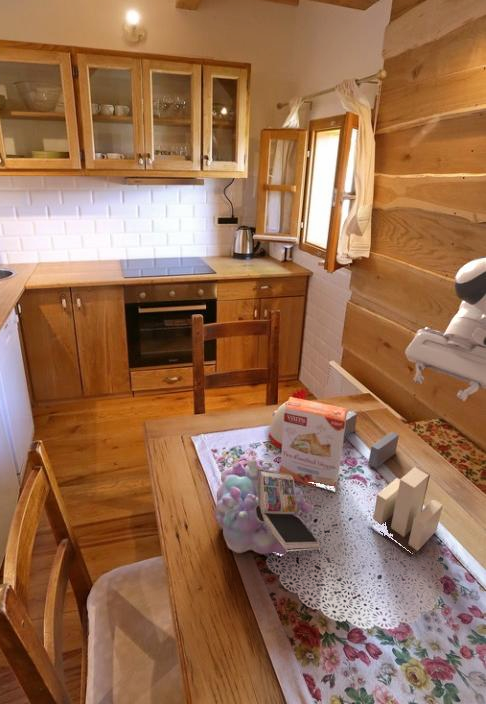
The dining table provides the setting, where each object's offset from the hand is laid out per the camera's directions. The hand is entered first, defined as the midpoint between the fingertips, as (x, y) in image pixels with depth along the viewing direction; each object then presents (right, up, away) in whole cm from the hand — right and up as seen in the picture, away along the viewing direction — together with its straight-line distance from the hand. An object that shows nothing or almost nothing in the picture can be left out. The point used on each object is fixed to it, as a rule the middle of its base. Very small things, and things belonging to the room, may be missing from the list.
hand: (437, 390), depth 90 cm
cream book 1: (-11, -27, 0) cm, 30 cm away
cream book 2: (-6, -30, -6) cm, 31 cm away
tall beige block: (-9, -29, -3) cm, 30 cm away
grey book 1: (-13, -18, +29) cm, 36 cm away
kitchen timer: (-27, -19, +29) cm, 43 cm away
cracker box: (-26, -25, +13) cm, 38 cm away
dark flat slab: (-9, -30, -2) cm, 31 cm away
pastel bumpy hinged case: (-39, -30, -2) cm, 49 cm away
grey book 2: (-5, -22, +19) cm, 30 cm away
